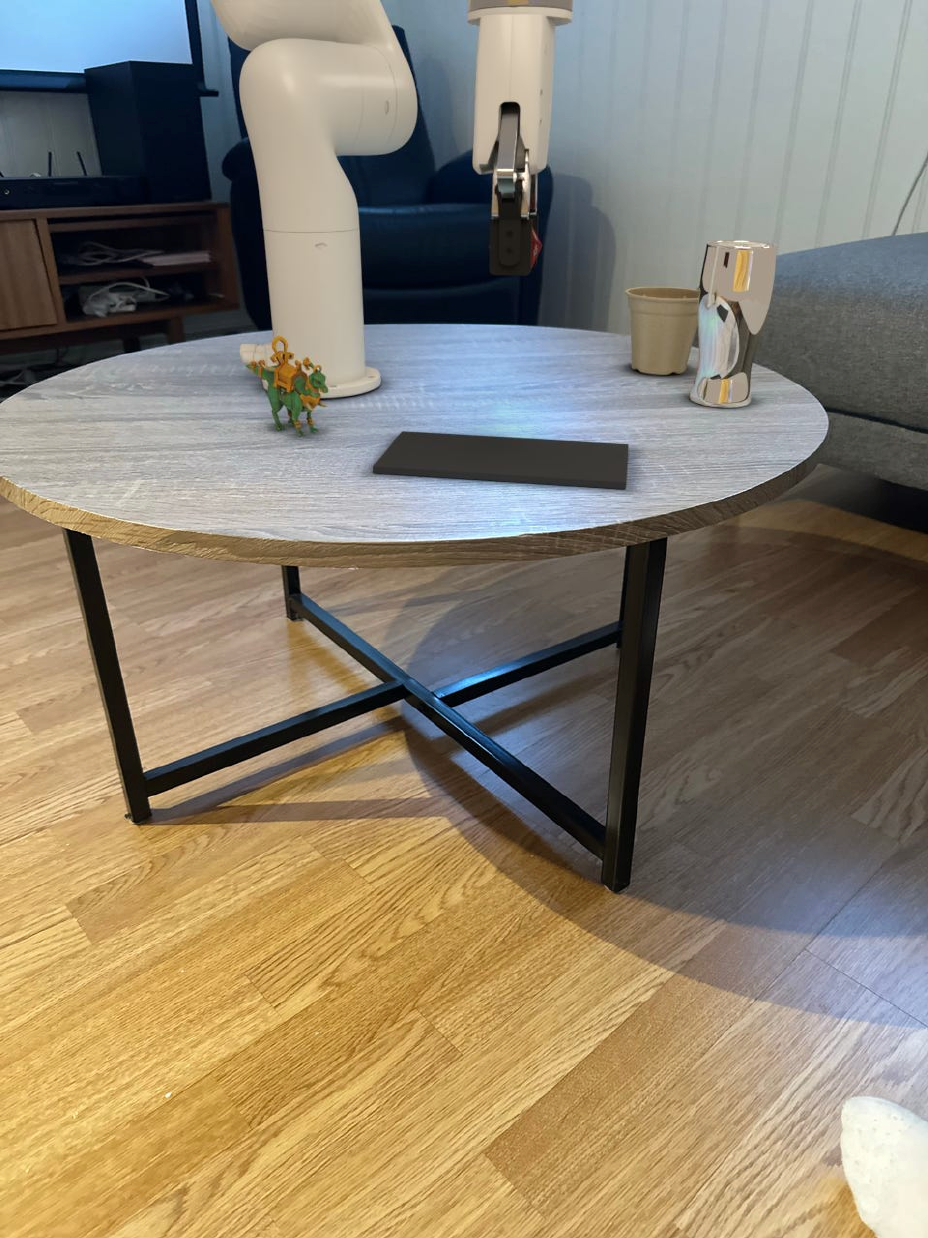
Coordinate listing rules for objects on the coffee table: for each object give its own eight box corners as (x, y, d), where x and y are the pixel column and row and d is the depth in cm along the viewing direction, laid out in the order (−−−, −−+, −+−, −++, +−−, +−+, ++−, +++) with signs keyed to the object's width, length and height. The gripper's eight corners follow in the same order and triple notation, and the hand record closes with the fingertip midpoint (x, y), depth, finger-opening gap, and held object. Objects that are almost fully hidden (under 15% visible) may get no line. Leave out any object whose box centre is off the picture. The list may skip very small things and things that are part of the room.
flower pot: (689, 361, 110) (698, 285, 106) (710, 379, 101) (720, 298, 97) (612, 361, 109) (618, 285, 105) (626, 379, 101) (633, 298, 97)
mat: (372, 473, 72) (372, 465, 72) (402, 437, 81) (402, 430, 81) (625, 489, 69) (626, 481, 69) (628, 450, 78) (628, 443, 78)
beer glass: (757, 411, 89) (783, 248, 82) (685, 407, 91) (705, 245, 84) (752, 394, 95) (776, 240, 88) (685, 390, 97) (703, 238, 90)
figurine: (316, 444, 79) (309, 348, 75) (237, 418, 86) (227, 329, 82) (343, 437, 81) (338, 343, 77) (264, 412, 88) (255, 325, 84)
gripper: (484, 14, 72) (482, 258, 81) (447, -19, 58) (449, 283, 66) (578, 12, 71) (566, 260, 80) (565, -23, 57) (552, 286, 65)
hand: (513, 268), depth 73 cm, fingers closed on dice, 4 cm apart
